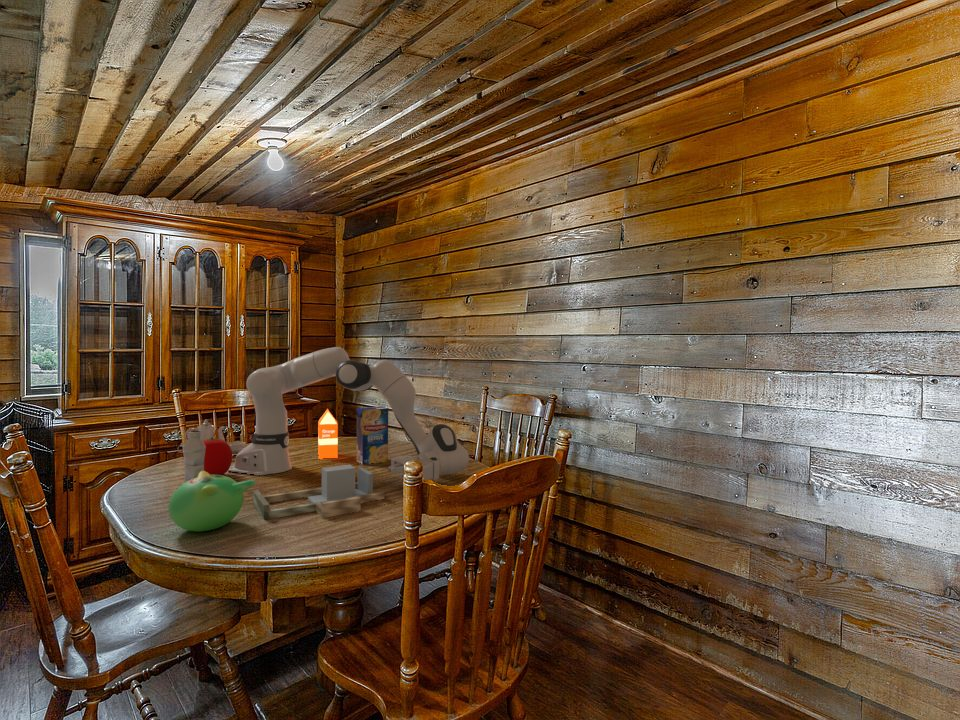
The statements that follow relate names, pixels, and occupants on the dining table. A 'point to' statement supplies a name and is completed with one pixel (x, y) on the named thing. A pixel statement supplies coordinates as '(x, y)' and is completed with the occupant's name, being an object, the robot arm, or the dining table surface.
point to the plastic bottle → (193, 455)
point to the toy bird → (207, 501)
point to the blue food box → (372, 435)
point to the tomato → (217, 456)
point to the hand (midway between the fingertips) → (389, 470)
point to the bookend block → (343, 483)
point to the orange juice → (327, 436)
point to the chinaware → (208, 433)
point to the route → (321, 508)
